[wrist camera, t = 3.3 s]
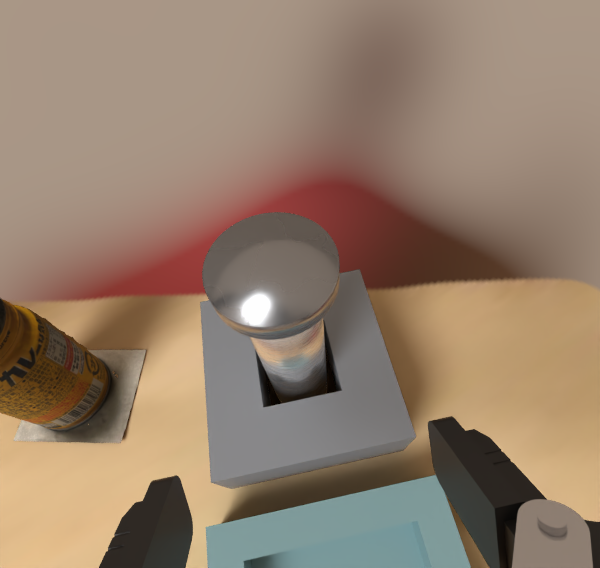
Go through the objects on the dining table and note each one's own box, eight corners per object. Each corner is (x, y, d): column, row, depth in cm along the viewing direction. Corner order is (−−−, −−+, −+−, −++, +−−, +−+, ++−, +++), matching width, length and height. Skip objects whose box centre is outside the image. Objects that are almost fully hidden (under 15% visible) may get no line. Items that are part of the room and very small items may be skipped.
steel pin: (270, 430, 28) (206, 340, 14) (260, 358, 31) (199, 226, 17) (346, 413, 28) (355, 309, 14) (328, 343, 31) (322, 201, 17)
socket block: (231, 488, 26) (211, 482, 22) (218, 330, 32) (200, 302, 28) (403, 450, 26) (416, 436, 22) (356, 301, 33) (359, 269, 28)
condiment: (51, 350, 33) (-77, 273, 22) (147, 350, 32) (59, 270, 22) (15, 441, 29) (-160, 397, 19) (122, 444, 28) (2, 399, 18)
